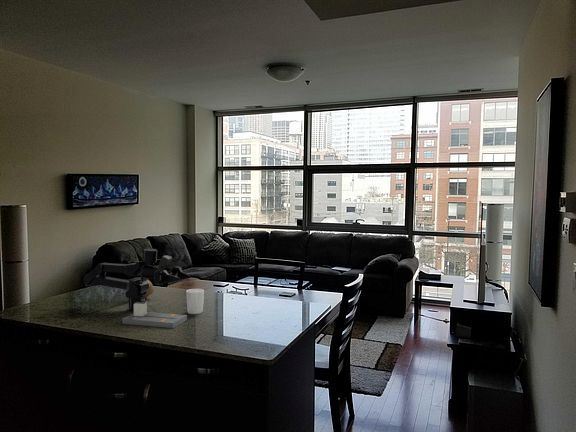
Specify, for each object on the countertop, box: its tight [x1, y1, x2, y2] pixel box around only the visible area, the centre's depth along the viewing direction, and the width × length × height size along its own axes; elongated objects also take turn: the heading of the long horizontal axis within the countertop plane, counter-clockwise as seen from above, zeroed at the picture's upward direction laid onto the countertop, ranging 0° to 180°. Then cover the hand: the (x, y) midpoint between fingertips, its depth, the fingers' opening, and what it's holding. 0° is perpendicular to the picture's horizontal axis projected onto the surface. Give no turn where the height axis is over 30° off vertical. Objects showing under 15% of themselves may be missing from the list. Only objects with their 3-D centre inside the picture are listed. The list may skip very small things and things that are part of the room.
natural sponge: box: [143, 279, 155, 300], centre depth 222 cm, size 9×9×10 cm
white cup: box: [185, 288, 205, 315], centre depth 197 cm, size 8×8×10 cm
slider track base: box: [121, 311, 188, 329], centre depth 182 cm, size 23×12×2 cm, turn 76°
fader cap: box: [133, 301, 148, 316], centre depth 183 cm, size 4×4×5 cm
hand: (185, 278), depth 193 cm, fingers open, 9 cm apart
